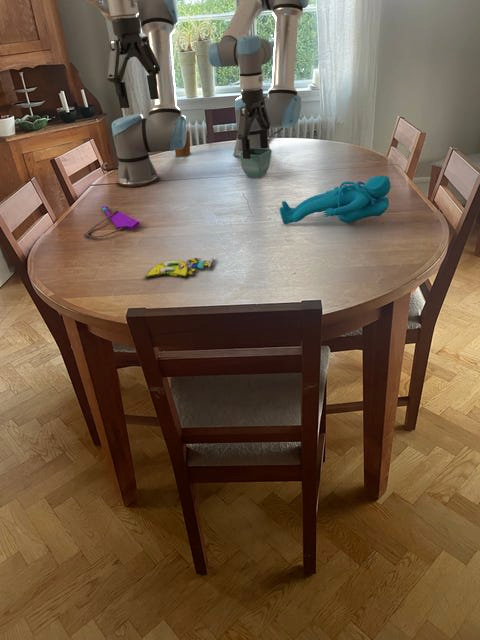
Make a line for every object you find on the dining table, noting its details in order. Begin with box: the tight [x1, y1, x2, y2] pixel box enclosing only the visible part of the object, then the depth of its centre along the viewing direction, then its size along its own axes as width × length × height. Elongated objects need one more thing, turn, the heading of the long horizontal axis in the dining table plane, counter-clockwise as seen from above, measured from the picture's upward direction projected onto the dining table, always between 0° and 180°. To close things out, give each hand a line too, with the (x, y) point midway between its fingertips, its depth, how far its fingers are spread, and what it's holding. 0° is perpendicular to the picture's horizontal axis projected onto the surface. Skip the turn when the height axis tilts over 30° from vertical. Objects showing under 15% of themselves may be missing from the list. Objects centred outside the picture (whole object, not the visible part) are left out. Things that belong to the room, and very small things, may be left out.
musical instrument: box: [85, 205, 141, 239], centre depth 147 cm, size 24×2×20 cm
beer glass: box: [174, 123, 191, 157], centre depth 210 cm, size 10×10×12 cm
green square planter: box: [239, 148, 272, 179], centre depth 176 cm, size 9×9×9 cm
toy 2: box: [278, 175, 392, 225], centre depth 133 cm, size 17×11×30 cm
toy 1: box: [145, 257, 214, 279], centre depth 117 cm, size 10×1×15 cm
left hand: (140, 103), depth 140 cm, fingers open, 13 cm apart
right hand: (255, 153), depth 174 cm, fingers open, 13 cm apart
